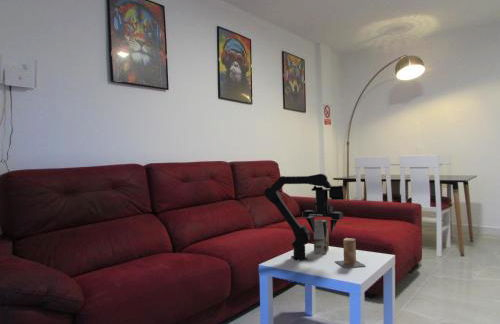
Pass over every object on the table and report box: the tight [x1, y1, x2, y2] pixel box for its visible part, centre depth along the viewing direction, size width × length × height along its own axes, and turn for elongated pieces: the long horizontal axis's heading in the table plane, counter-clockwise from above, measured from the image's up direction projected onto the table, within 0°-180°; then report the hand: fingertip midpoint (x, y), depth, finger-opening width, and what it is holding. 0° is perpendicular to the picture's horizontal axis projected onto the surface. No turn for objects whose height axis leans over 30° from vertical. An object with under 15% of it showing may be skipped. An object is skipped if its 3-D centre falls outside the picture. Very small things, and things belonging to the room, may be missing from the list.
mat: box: [334, 259, 366, 269], centre depth 163 cm, size 10×10×1 cm
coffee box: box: [313, 219, 330, 255], centre depth 185 cm, size 9×6×16 cm
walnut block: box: [342, 237, 357, 265], centre depth 162 cm, size 4×4×11 cm
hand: (322, 232), depth 171 cm, fingers open, 9 cm apart
